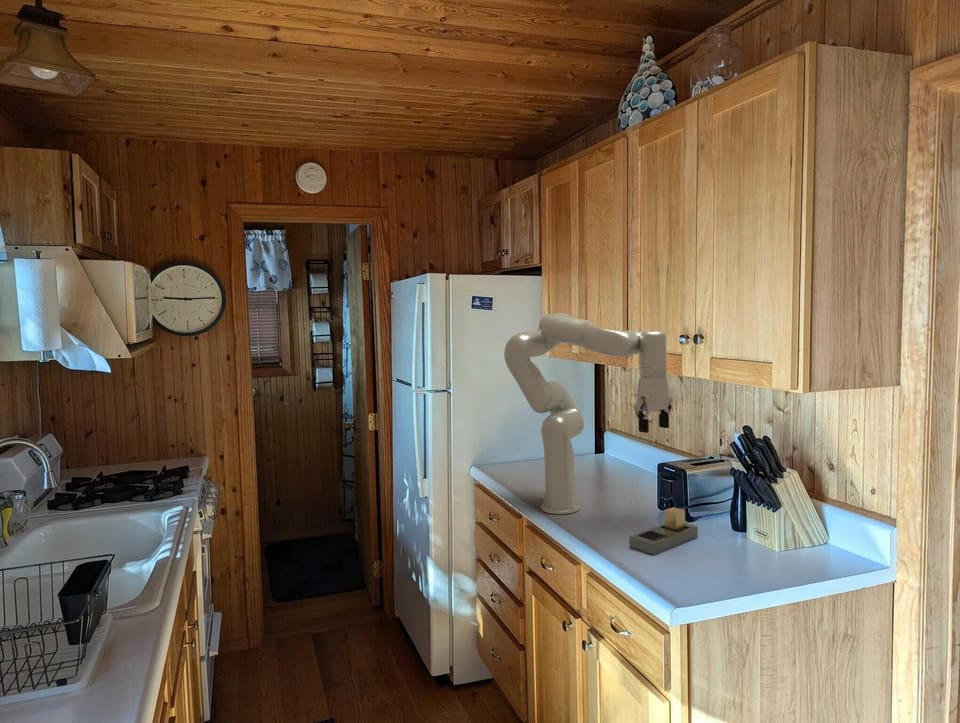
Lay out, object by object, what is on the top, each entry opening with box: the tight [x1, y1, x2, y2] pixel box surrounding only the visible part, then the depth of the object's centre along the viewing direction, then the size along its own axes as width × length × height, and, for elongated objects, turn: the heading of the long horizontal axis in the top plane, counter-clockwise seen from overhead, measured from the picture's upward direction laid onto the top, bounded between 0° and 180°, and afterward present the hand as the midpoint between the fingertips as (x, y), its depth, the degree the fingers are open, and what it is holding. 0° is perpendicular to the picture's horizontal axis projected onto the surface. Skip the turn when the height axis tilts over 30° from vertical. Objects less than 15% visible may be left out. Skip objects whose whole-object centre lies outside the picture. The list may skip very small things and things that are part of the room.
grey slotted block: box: [628, 522, 699, 556], centre depth 188 cm, size 8×20×3 cm, turn 129°
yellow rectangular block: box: [663, 506, 686, 532], centre depth 191 cm, size 4×4×8 cm
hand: (654, 429), depth 203 cm, fingers open, 9 cm apart
